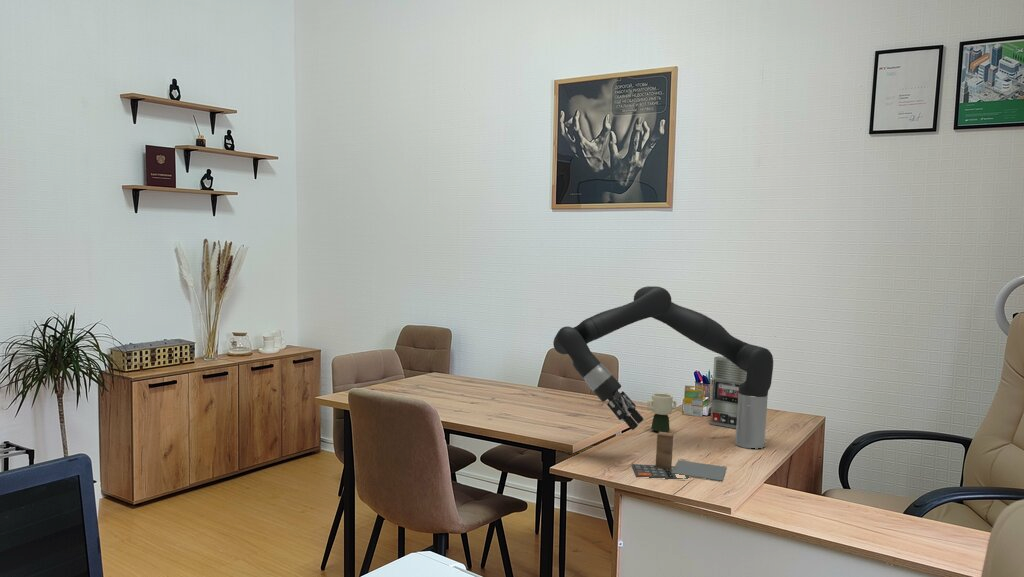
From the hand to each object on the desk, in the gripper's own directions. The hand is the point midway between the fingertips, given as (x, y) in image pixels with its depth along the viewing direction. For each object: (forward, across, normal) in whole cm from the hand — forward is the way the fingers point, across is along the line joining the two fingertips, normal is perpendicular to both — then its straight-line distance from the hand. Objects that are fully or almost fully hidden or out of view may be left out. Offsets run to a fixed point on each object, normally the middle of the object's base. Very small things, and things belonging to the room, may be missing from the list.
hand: (638, 424), depth 213 cm
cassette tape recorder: (+24, +65, -7) cm, 69 cm away
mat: (+21, +2, -4) cm, 22 cm away
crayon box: (+14, +77, +4) cm, 78 cm away
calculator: (+14, -5, +3) cm, 16 cm away
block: (+14, 0, +3) cm, 14 cm away
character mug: (+8, +43, +9) cm, 44 cm away
